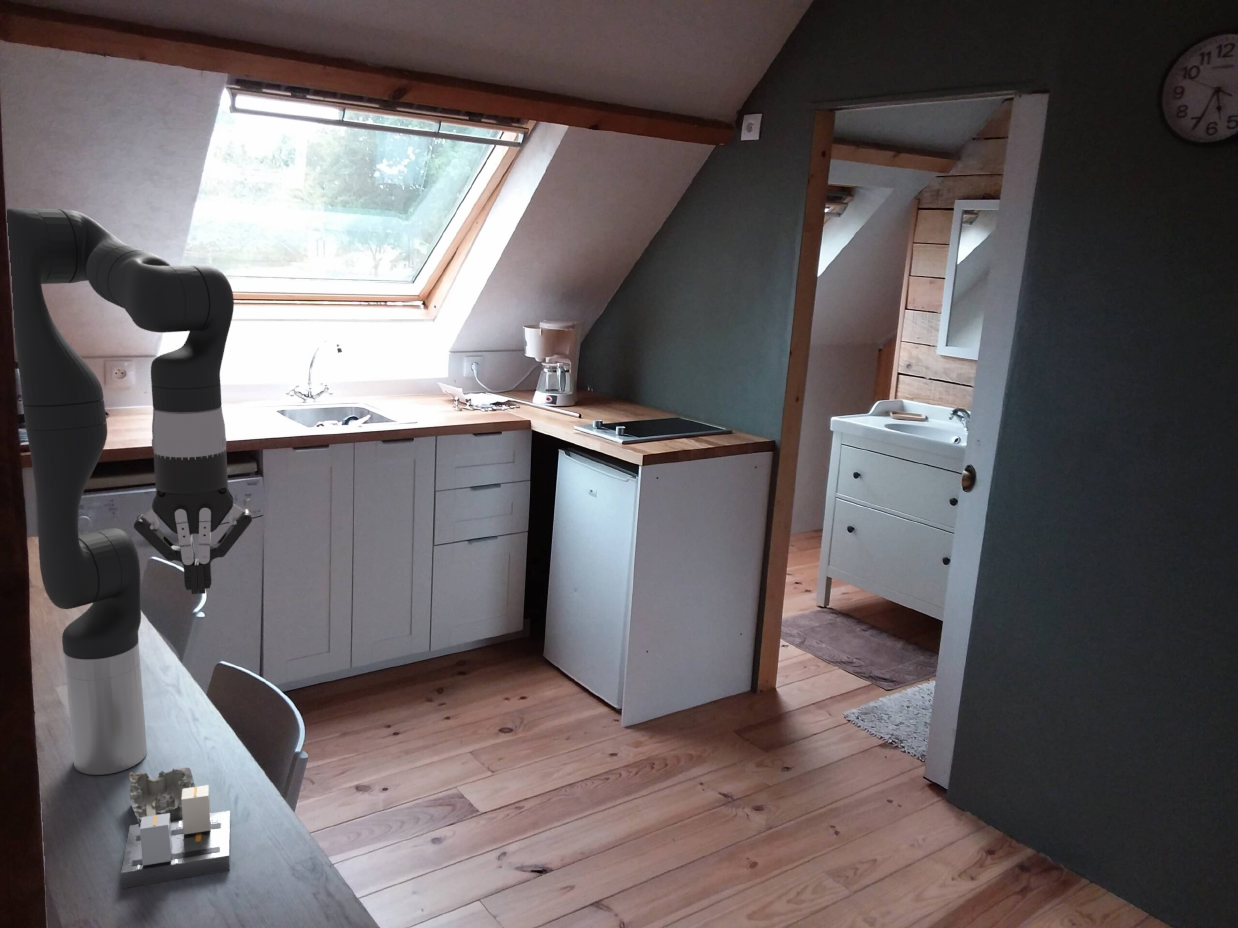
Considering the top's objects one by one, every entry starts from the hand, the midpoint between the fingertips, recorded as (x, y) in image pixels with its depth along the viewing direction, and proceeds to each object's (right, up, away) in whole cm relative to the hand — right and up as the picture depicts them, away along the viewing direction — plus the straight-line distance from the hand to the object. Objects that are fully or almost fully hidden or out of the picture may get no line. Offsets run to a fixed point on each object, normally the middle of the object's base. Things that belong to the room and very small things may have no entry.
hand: (198, 591), depth 115 cm
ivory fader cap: (-3, -30, +7) cm, 31 cm away
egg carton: (-10, -30, +14) cm, 35 cm away
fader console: (-4, -33, +5) cm, 33 cm away
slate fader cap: (-5, -31, +1) cm, 32 cm away
